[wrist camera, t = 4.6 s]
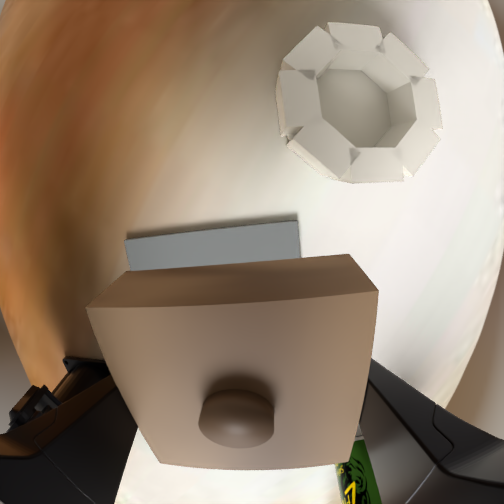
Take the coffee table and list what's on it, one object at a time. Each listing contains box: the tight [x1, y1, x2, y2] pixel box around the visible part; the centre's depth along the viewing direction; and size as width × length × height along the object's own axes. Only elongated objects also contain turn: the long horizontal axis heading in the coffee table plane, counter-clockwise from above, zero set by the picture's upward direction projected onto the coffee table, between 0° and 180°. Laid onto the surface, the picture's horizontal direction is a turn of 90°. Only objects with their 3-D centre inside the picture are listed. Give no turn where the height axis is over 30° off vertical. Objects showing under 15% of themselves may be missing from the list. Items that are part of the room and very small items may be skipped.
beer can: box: [335, 436, 382, 504], centre depth 20 cm, size 5×5×12 cm
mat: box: [124, 220, 300, 271], centre depth 21 cm, size 12×12×1 cm
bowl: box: [275, 22, 443, 184], centre depth 14 cm, size 9×9×4 cm
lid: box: [85, 254, 379, 470], centre depth 8 cm, size 7×7×3 cm
